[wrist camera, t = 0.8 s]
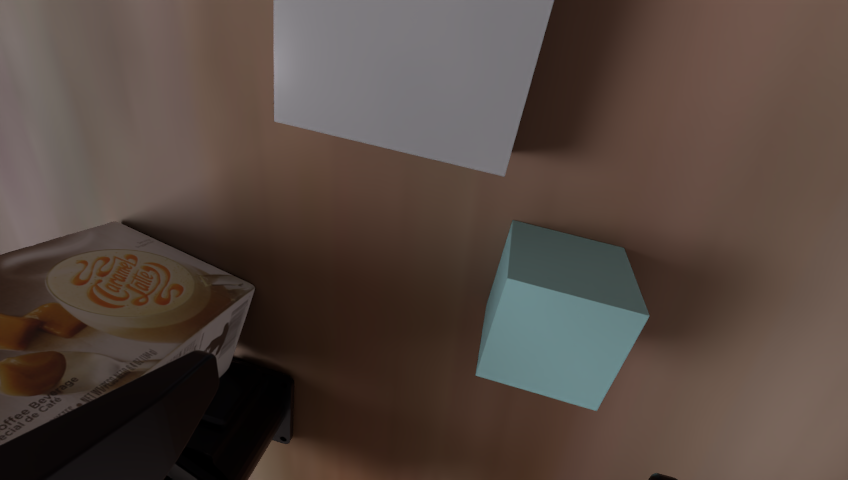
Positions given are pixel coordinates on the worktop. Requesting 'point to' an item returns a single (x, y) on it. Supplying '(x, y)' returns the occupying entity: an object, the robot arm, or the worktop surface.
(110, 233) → the coffee box
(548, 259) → the teal cube
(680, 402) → the worktop surface
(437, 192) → the worktop surface
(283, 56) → the stone plinth
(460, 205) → the worktop surface
